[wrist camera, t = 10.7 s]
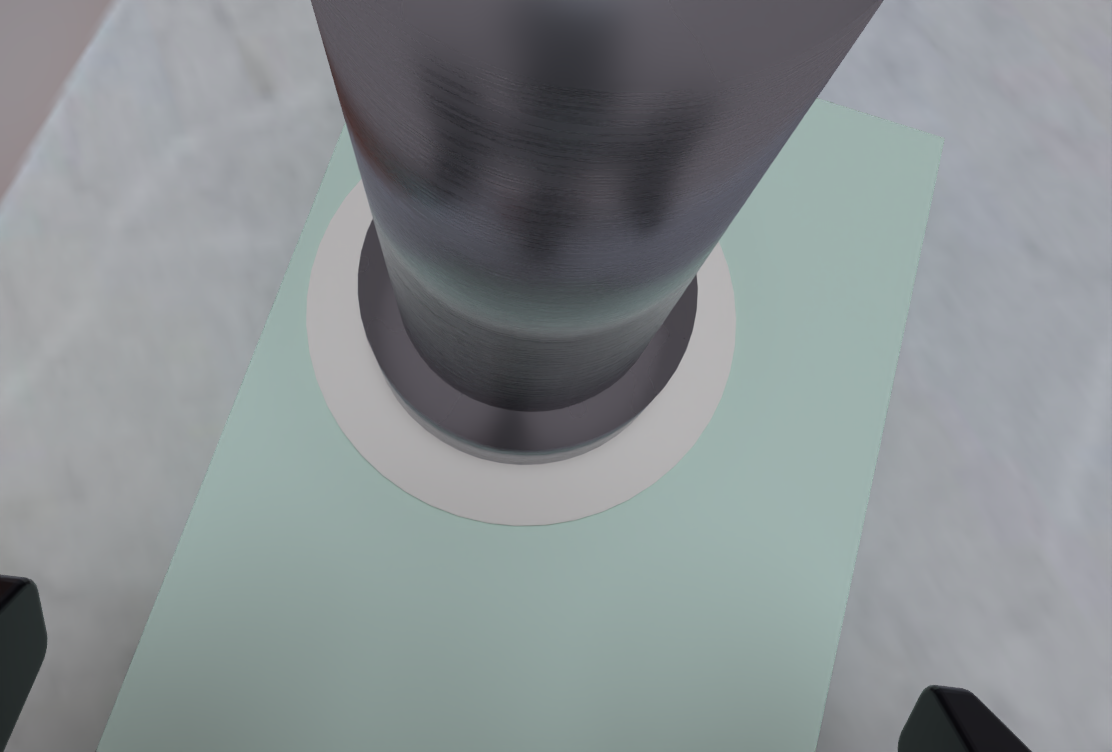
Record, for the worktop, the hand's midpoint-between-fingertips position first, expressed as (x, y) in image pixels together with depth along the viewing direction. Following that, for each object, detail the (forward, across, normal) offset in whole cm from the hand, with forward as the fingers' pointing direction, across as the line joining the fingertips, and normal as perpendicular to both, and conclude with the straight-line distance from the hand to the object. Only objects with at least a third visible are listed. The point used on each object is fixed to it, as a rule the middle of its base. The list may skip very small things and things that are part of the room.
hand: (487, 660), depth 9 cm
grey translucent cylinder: (+11, 0, +2) cm, 11 cm away
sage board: (+10, -1, +5) cm, 11 cm away
